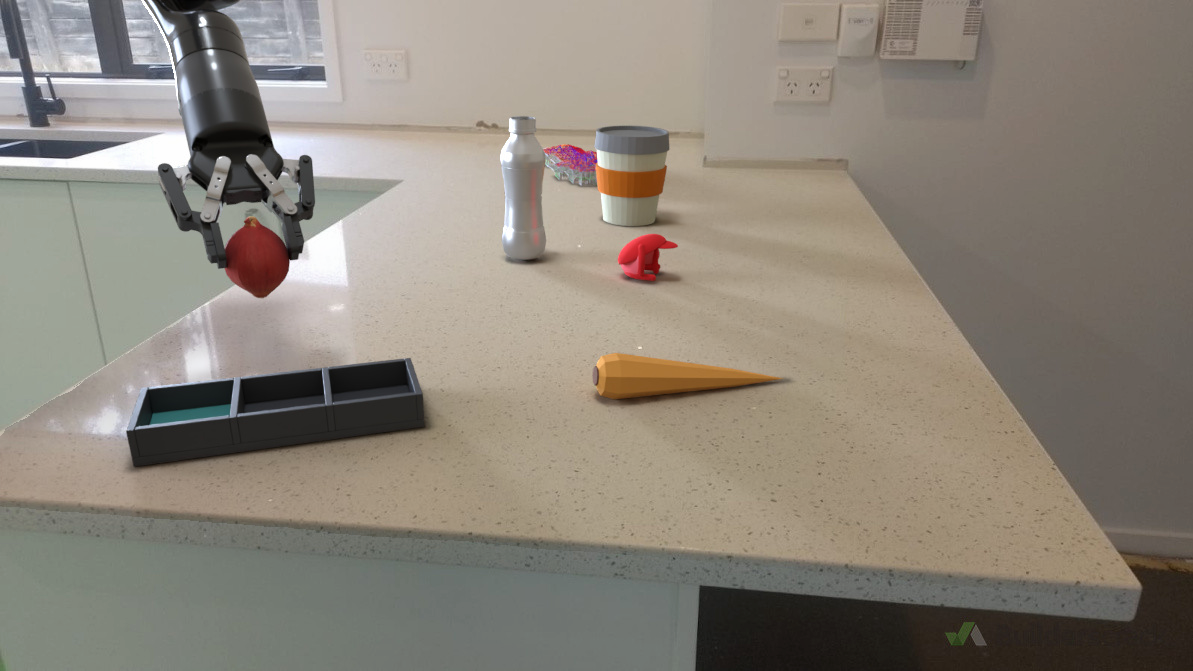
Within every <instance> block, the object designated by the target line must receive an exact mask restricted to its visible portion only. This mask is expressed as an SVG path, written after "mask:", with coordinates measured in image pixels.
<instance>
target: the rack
mask: <svg viewBox="0 0 1193 671" xmlns="http://www.w3.org/2000/svg"><path fill="white" fill-rule="evenodd" d="M425 421H426V420H425V405H424V394H423V391H422V387H421V384H420V382H419V379H418V375H417V373H416V370H415V367H414V364H413V361H412V359H411V357H405V358H397V359H387V360H378V361H377V360H376V361H368V362H360V363H352V364H343V365H333V366H325V367H316V368H306V369H297V370H289V371H280V372H269V373H263V374H262V373H261V374H253V375H244V376H236V377H235V376H234V377H225V378H216V379H209V380H200V381H198V380H197V381H190V382H181V383H171V384H163V385H155V386H149V387H148V386H147V387H146V386H145V387H141V388H140V390H139V393H138V395H137V399H136V402H135V404H134V407H133V410H132V414H131V416H130V418H129V422H128V424H127V426H126V430H125V433H126V438H127V442H128V448H129V451H130V457H131V461H132V465H133V467H140V466H142V467H143V466H149V465H156V464H162V463H163V464H164V463H170V462H178V461H185V460H192V459H199V458H206V457H215V456H222V455H228V454H229V455H230V454H237V453H244V452H251V451H257V450H258V451H259V450H266V449H273V448H280V447H288V446H294V445H301V444H309V443H317V442H323V441H331V440H337V439H345V438H352V437H359V436H366V435H367V436H368V435H375V434H381V433H388V432H389V433H390V432H396V431H397V432H398V431H405V430H410V429H411V430H412V429H418V428H424V427H426V422H425Z"/></svg>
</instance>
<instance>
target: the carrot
mask: <svg viewBox="0 0 1193 671" xmlns="http://www.w3.org/2000/svg"><path fill="white" fill-rule="evenodd" d="M784 379H785V378H784V377H778V376H773V375H769V374H768V375H767V374H762V373H759V372H758V373H757V372H751V371H747V370H742V369H737V368H730V367H723V366H716V365H710V364H702V363H693V362H687V361H679V360H671V359H666V358H665V359H664V358H657V357H649V356H644V355H643V356H642V355H636V354H628V353H620V352H613V353H608V354H605V355H601V356H600V357H599V359H598V360H597V362H596V364H595V366H593V369H592V383H593V385H594V386H595V388H596V390H597V392H598V394H599V396H600V397H603V398H604V397H605V398H608V399H610V400H622V399H631V398H632V399H633V398H641V397H650V396H651V397H652V396H659V395H669V394H670V395H671V394H679V393H689V392H699V391H706V390H707V391H708V390H717V389H726V388H735V387H742V386H748V385H753V384H761V383H766V382H772V381H777V380H784Z"/></svg>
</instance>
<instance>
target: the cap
mask: <svg viewBox="0 0 1193 671" xmlns="http://www.w3.org/2000/svg"><path fill="white" fill-rule="evenodd" d="M678 247H679V245H678V244H677V243H676V242H674V241H670V240H667V239H666V237H665V236H663V235H661V234H658V233H647V234H643V235H640V236H637V237H636V238H633V239H632V240H630V241H629V242H627V243H626V244H625V245H624V246H623V247H622V249H621V250H620V252H619V253H618V255H617V263H618V265H619V266H620V267H621V269H622V271H623V272H624V274H625V275H626V276H627V277H629V278H630V279H635V280H640V281H649V282H655V281H656V279H657V276H656V275H658V274H659V273H660V269H661V264H660V263H659V259H660V257H661V256H660V253H661V252H660V250H673V249H676V248H678ZM645 271H647V272H648V271H649V272H653V274H651V273H645Z"/></svg>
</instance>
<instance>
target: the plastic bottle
mask: <svg viewBox="0 0 1193 671" xmlns="http://www.w3.org/2000/svg"><path fill="white" fill-rule="evenodd" d="M536 122H537V120H536V117H534V116H528V115H517V116H516V115H515V116H510V117H509V127H508V132H509V133H510V136H509V138H508V139H507V141H506V142H505V143H504V145H503V147H502V149H501V151H500V157H499V158H500V164H501V165H500V166H501V167H500V168H501V172H502V179H503V187H504V188H503V190H504V194H505V196H504V202H505V204H504V205H505V207H504V223H503V228H502V235H501V244H502V249H503V252H504V253H505V255H506V256H507V257H508V258H511V259H515V260H526V261H527V260H534V259H535V260H536V259H538V258H540V257H542V256H543V254H544V253H545V250H546V245H547V236H546V230H545V226H544V215H543V214H544V213H543V204H542V202H543V196H542V195H543V184H544V183H543V182H544V175H545V168H546V165H545V158H546V157H545V153H544V150H543V147H542V145H541V143H540V142H539V140H538V139H537V136H535V133H536V132H537V127H536V126H537V123H536Z"/></svg>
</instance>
